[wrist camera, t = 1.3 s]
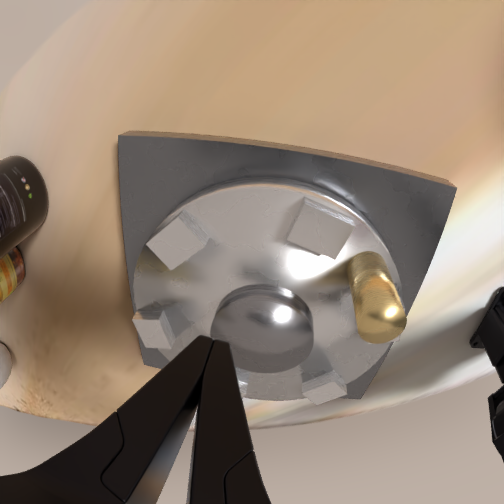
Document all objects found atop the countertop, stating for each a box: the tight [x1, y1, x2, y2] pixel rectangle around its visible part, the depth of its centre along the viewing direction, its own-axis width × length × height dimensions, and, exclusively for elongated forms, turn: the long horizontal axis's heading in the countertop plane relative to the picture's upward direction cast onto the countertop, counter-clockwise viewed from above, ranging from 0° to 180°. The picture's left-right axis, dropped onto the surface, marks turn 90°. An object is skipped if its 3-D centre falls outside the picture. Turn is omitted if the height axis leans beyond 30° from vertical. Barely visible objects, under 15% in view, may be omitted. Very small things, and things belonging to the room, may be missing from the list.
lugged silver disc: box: [132, 177, 407, 405], centre depth 18 cm, size 17×17×6 cm
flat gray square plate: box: [118, 131, 457, 399], centre depth 21 cm, size 20×20×2 cm
